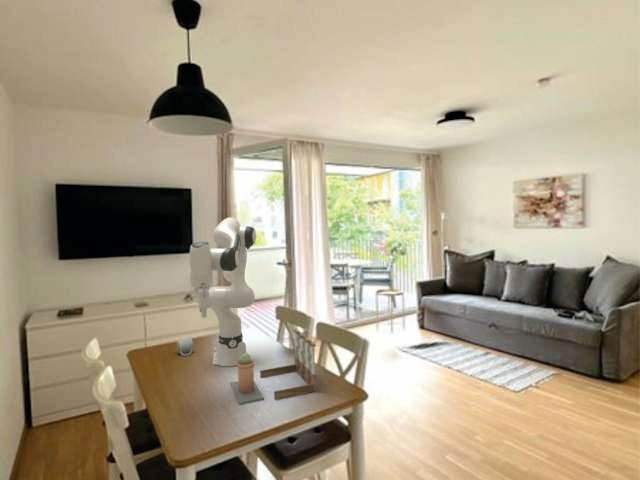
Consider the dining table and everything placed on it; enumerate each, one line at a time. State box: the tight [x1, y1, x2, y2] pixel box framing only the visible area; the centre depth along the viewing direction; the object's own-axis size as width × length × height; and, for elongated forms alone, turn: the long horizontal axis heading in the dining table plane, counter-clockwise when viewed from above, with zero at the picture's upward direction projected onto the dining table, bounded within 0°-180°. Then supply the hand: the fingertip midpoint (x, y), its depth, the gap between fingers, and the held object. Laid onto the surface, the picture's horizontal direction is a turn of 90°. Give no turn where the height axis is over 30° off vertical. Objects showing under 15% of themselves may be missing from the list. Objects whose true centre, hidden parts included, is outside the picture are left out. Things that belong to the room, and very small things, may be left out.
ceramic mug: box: [175, 337, 194, 357], centre depth 203 cm, size 11×8×8 cm
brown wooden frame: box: [259, 328, 317, 401], centre depth 163 cm, size 24×18×20 cm
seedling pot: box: [236, 352, 255, 393], centre depth 156 cm, size 7×7×16 cm
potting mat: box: [230, 380, 265, 405], centre depth 156 cm, size 20×10×1 cm, turn 23°
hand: (203, 314), depth 153 cm, fingers open, 8 cm apart
